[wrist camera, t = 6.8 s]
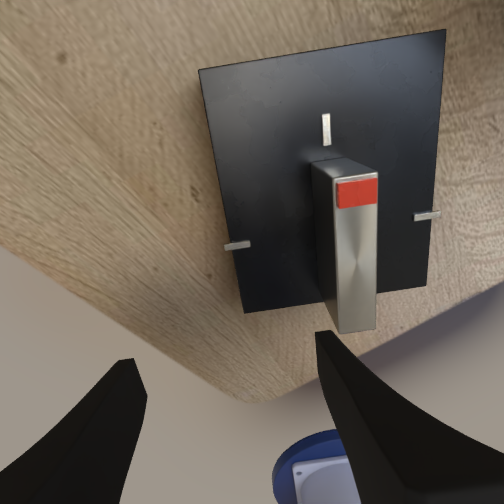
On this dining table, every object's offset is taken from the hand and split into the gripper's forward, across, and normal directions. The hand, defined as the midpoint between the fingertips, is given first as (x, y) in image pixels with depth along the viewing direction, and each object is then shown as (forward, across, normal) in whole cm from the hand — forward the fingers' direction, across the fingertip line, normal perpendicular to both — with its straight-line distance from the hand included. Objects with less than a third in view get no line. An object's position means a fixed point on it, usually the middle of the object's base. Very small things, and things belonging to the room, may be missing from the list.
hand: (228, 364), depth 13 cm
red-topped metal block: (+6, -6, -2) cm, 9 cm away
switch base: (+9, -6, -4) cm, 12 cm away
